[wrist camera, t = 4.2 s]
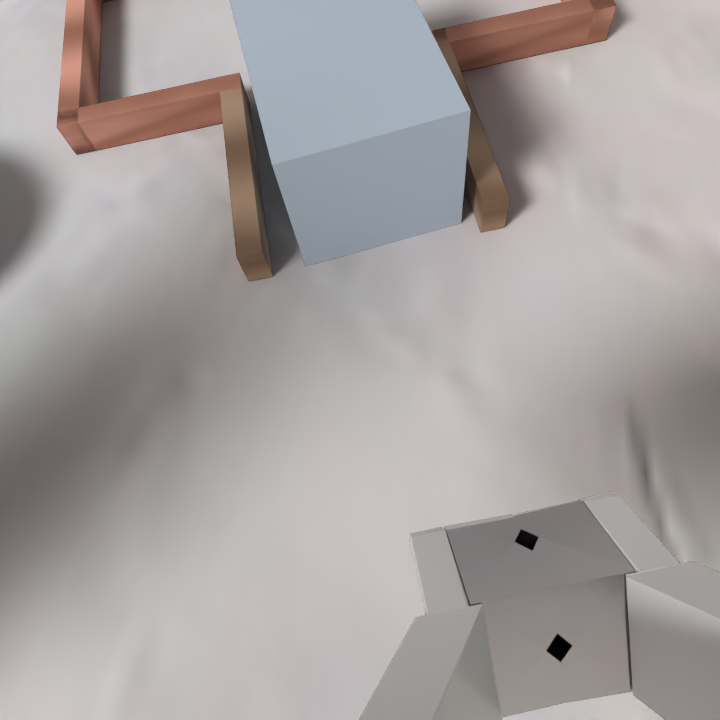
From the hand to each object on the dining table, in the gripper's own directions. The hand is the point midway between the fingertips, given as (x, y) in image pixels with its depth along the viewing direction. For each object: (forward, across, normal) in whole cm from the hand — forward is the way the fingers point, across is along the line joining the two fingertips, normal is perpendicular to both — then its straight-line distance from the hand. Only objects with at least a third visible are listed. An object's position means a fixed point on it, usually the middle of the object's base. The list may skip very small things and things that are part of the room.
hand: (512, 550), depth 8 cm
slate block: (+26, 0, -6) cm, 27 cm away
